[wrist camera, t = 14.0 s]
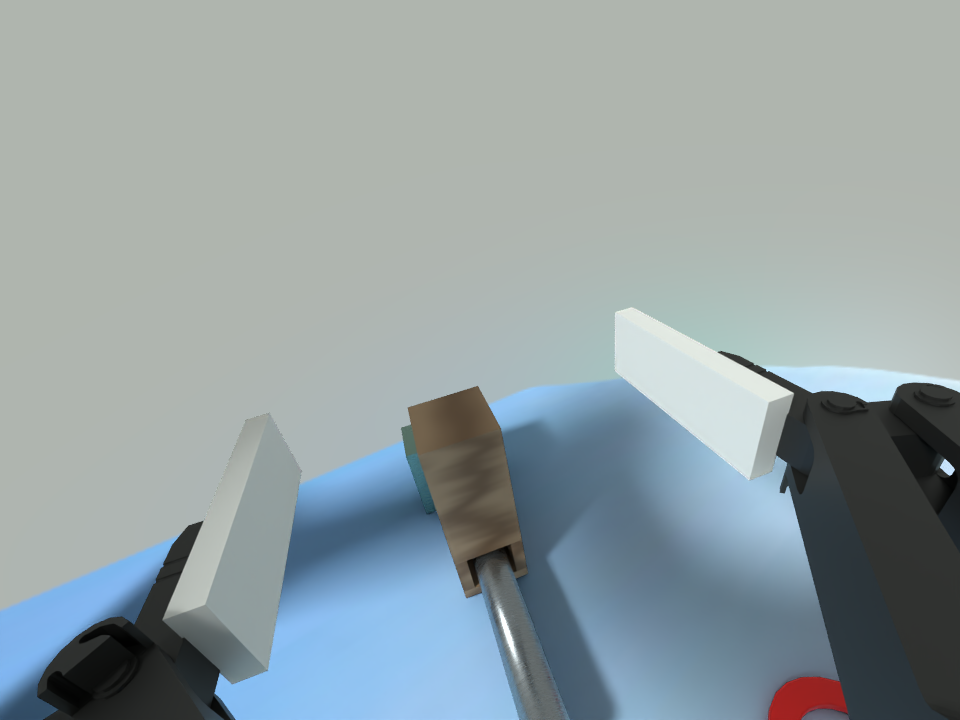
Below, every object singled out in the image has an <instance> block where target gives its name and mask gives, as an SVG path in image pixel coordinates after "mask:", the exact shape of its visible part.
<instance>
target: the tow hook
mask: <svg viewBox="0 0 960 720" xmlns="http://www.w3.org/2000/svg"><path fill="white" fill-rule="evenodd" d="M815 709H833V710H837V711H841V712H845V713H847V714H848V711H847V707H846V703H845V699H844V695H843V692H842V688H841V684H840V682H839V681H835V680H831V679H827V678H822V677H800V678H798V679H795V680H792V681H789V682H787V683H786V684H785V685H783V686H782V687H781V688H780V689H779V690H778V691H777V692H776V694H775V696H774V699H773V701H772V703H771V706H770V709H769V712H768V720H801V719H802V718H803V717H804V716H805V715H806V714H807V713H808V712H810V711H813V710H815Z"/></svg>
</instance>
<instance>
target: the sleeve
mask: <svg viewBox="0 0 960 720" xmlns="http://www.w3.org/2000/svg"><path fill="white" fill-rule="evenodd" d="M408 411H409V416H410V421H411V426H412V430H413V435H414V440H415V445H416V449H417V454H418V458H419V461H420V464H421V466H422V469H423V472H424V475H425V478H426V481H427V484H428V487H429V490H430V493H431V496H432V499H433V502H434V505H435V508H436V511H437V513H438V516H439V519H440V522H441V525H442V528H443V531H444V534H445V537H446V540H447V543H448V546H449V549H450V552H451V555H452V558H453V560H454V563H455V566H456V569H457V572H458V575H459V578H460V581H461V584H462V587H463V590H464V593H465V596H466V598H468V597H471V596H473V595H476V594H478V593H481V592H482V590H481V587H480V583H479V580H478V577H477V573H476V570H475V566H474V563H473V560H472V559H473V558H475V557H478V556H481V555H483V554H486V553H489V552H491V551H494V550H496V549H499V548H502V547H504V549H505V552H506V554H507V557H508V560H509V562H510V565H511V567H512V570H513V573H514V575H515V578H519V577H521V576H524V575H526V574H528V570H527V565H526V559H525V554H524V549H523V543H522V538H521V533H520V528H519V522H518V517H517V512H516V506H515V501H514V496H513V490H512V485H511V480H510V474H509V469H508V464H507V459H506V453H505V448H504V443H503V437H502V432H501V428H500V426H499V424H498V422H497V420H496V419H495V417H494V415H493V413H492V411H491V409H490V408H489V406H488V404H487V402H486V400H485V398H484V397H483V395H482V393H481V391H480V389H479V387H478V386H476V387H473V388H470V389H467V390H463V391H460V392H457V393H454V394H450V395H447V396H444V397H441V398H438V399H434V400H431V401H428V402H425V403H422V404H418V405H415V406H411V407H409V408H408Z"/></svg>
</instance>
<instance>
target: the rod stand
mask: <svg viewBox="0 0 960 720" xmlns="http://www.w3.org/2000/svg"><path fill="white" fill-rule="evenodd" d="M401 430H402V435H403V441H404V447H405V453H406V458H407V460H408V463H409V466H410V469H411V472H412V474H413V477H414V480H415V483H416V485H417V488H418V491H419V494H420V496H421V499H422V502H423V505H424V508H425V510H426V513H427V514H429V513H432V512H435V511H436V508H435V505H434V502H433V499H432V496H431V493H430V490H429V487H428V484H427V481H426V478H425V475H424V472H423V469H422V466H421V464H420V461H419V458H418V454H417V449H416V445H415V440H414V435H413V430H412V426H411V425H409V426H406V427H402V428H401ZM472 560H473V563H474V566H475V570H476V573H477V577H478V580H479V583H480V587H481V590H482V594H483V597H484V600H485V604H486V607H487V611H488V614H489V618H490V621H491V624H492V628H493V631H494V635H495V638H496V641H497V645H498V648H499V652H500V655H501V658H502V662H503V665H504V669H505V672H506V676H507V679H508V682H509V686H510V689H511V693H512V696H513V699H514V703H515V706H516V710H517V713H518V716H519V720H570V719H569V716H568V713H567V711H566V708H565V706H564V703H563V700H562V698H561V695H560V693H559V690H558V687H557V685H556V682H555V679H554V677H553V674H552V672H551V669H550V666H549V664H548V661H547V659H546V656H545V653H544V651H543V648H542V646H541V643H540V640H539V638H538V635H537V633H536V630H535V627H534V625H533V622H532V620H531V617H530V614H529V612H528V609H527V606H526V604H525V601H524V599H523V596H522V593H521V591H520V588H519V586H518V583H517V580H516V578H515V575H514V573H513V570H512V567H511V565H510V562H509V560H508V557H507V554H506V552H505V549H504V547H502V548H499V549H496V550H494V551H491V552H489V553H486V554H483V555H481V556H478V557H475V558H473V559H472Z"/></svg>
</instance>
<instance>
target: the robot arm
mask: <svg viewBox="0 0 960 720" xmlns="http://www.w3.org/2000/svg"><path fill="white" fill-rule="evenodd" d="M615 372H617V373H618V374H619V375H620V376H621V377H623V378H624V379H625V380H626V381H628V382H629V383H630V384H631V385H633V386H634V387H635V388H636V389H637V390H639V391H640V392H641V393H642V394H644V395H645V396H646V397H647V398H649V399H650V400H651V401H652V402H653V403H655V404H656V405H657V406H658V407H660V408H661V409H662V410H663V411H664V412H666V413H667V414H668V415H669V416H671V417H672V418H673V419H674V420H676V421H677V422H678V423H679V424H680V425H682V426H683V427H684V428H685V429H687V430H688V431H689V432H690V433H692V434H693V435H694V436H695V437H696V438H698V439H699V440H700V441H701V442H703V443H704V444H705V445H706V446H708V447H709V448H710V449H711V450H712V451H714V452H715V453H716V454H717V455H719V456H720V457H721V458H722V459H724V460H725V461H726V462H727V463H728V464H730V465H731V466H732V467H733V468H735V469H736V470H737V471H738V472H740V473H741V474H742V475H743V476H744V477H746V478H747V479H748V480H749V481H750V480H752V479H755V478H757V477H760V476H762V475H765V474H767V473H770V472H772V469H773V466H774V462H775V459H776V455H777V456H778V457H780V458H781V459H783V460H784V461H785V462H787V467H786V470H785V473H784V476H783V480H782V483H781V486H780V493H785V491H786V488H787V486H789V488H790V492H791V496H792V500H793V504H794V507H795V511H796V515H797V519H798V523H799V527H800V530H801V534H802V538H803V542H804V546H805V550H806V554H807V557H808V561H809V565H810V569H811V573H812V577H813V580H814V584H815V588H816V592H817V596H818V600H819V603H820V607H821V611H822V615H823V619H824V623H825V626H826V630H827V634H828V638H829V642H830V646H831V649H832V653H833V657H834V661H835V665H836V669H837V672H838V676H839V680H840V684H841V688H842V692H843V695H844V699H845V703H846V707H847V711H848V715H849V718H850V720H960V393H959V392H957V391H955V390H952V389H949V388H946V387H944V386H941V385H936V384H935V385H934V384H930V383H907V384H902V385H901V386H899V387H897V389H896V391H895V394H894V396H893V398H892V400H891V401H879V402H865V401H863V400H862V399H860V398H858V397H855V396H852V395H849V394H846V393H840V392H834V391H821V392H817V393H811V392H809V391H807V390H805V389H803V388H801V387H799V386H797V385H795V384H793V383H791V382H789V381H787V380H785V379H783V378H781V377H779V376H777V375H775V374H773V373H772V372H770V371H768V372H767V371H766V369H764V368H762V367H760V366H758V365H754V364H753V363H752V362H750V361H748V360H746V359H744V358H742V357H740V356H737V355H734V354H730V353H726V352H722V351H720V352H716V351H714V350H712V349H710V348H708V347H706V346H704V345H702V344H701V343H699V342H697V341H695V340H693V339H691V338H689V337H687V336H685V335H683V334H682V333H680V332H678V331H676V330H674V329H672V328H670V327H669V326H667V325H665V324H663V323H661V322H659V321H657V320H655V319H654V318H652V317H650V316H648V315H646V314H644V313H642V312H640V311H639V310H636V309H635V308H633V307H631V308H628V309H625V310H621V311H618V312H615ZM944 459H946V460H947V461H948V462H949V463H950V464H951V465H952V466H953V467H954V469H955V471H954V472H953V474H952V475H951V476H949V475H948V474H946V473H945V472H944V471H943V470H942V469H941V468H940V466H941V464H942V462H943V461H944ZM301 472H302V471H301V469H300V467H299V465H298V463H297V462H296V460H295V458H294V456H293V454H292V453H291V451H290V449H289V447H288V445H287V443H286V442H285V440H284V438H283V437H282V434H281V433H280V431H279V429H278V427H277V425H276V424H275V422H274V420H273V418H272V416H271V415H270V413H268V414H264V415H261V416H257V417H254V418H251V419H247V420H246V421H245V423H244V426H243V428H242V431H241V433H240V435H239V438H238V440H237V443H236V445H235V447H234V450H233V452H232V455H231V457H230V459H229V462H228V464H227V466H226V469H225V471H224V474H223V476H222V478H221V481H220V483H219V486H218V488H217V491H216V493H215V495H214V498H213V500H212V502H211V505H210V507H209V510H208V512H207V514H206V517H205V519H204V521H202V522H198V523H196V524H192V525H189V526H188V527H187V528H186V529H185V531H183V533H182V534H181V535H180V536H179V537H178V539H177V540H176V541H175V542H174V543H173V545H172V546H171V549H170V551H169V553H168V555H167V557H166V559H165V561H164V563H163V565H164V567H162V568H161V570H160V572H159V574H158V576H157V578H156V583H155V584H153V587H152V589H151V591H150V593H149V595H148V597H147V599H146V601H145V603H144V606H143V608H142V610H141V612H140V614H139V616H138V618H137V620H136V622H135V625H133V624H132V623H131V622H130V621H128V620H127V619H125V618H123V617H114V618H108V619H106V620H104V621H101V622H99V623H97V624H94V625H93V626H91V627H90V628H88V629H87V630H85V631H84V632H82V633H81V634H79V635H78V636H76V637H75V638H74V639H73V640H72V641H71V642H70V643H69V644H68V645H66V646H65V647H64V648H63V649H62V650H61V651H60V652H59V653H58V654H57V656H56V657H55V658H54V659H53V661H52V662H51V663H50V664H49V666H48V667H47V668H46V670H45V672H44V674H43V676H42V678H41V680H40V682H39V684H38V692H37V697H38V698H40V699H42V700H43V701H45V702H47V703H48V704H50V705H52V706H54V707H55V708H57V709H59V710H58V711H56V712H54V713H53V714H51V715H50V716H48V717H47V718H45V719H43V720H235V718H234V717H233V715H232V714H231V713H230V711H229V710H228V708H227V707H226V706H225V704H224V703H223V702H222V700H221V699H220V698H219V697H218V696H217V695H215V694H214V692H215V689H216V685H217V681H218V677H219V673H221V674H222V675H223V676H224V677H225V678H226V679H227V680H228V681H229V682H230V683H231V684H235V683H237V682H240V681H242V680H245V679H247V678H250V677H252V676H255V675H258V674H260V673H263V672H265V671H268V666H269V660H270V654H271V648H272V643H273V637H274V631H275V625H276V619H277V613H278V607H279V601H280V596H281V590H282V584H283V578H284V572H285V566H286V560H287V554H288V549H289V543H290V537H291V531H292V525H293V519H294V513H295V507H296V502H297V496H298V490H299V484H300V478H301Z"/></svg>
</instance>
